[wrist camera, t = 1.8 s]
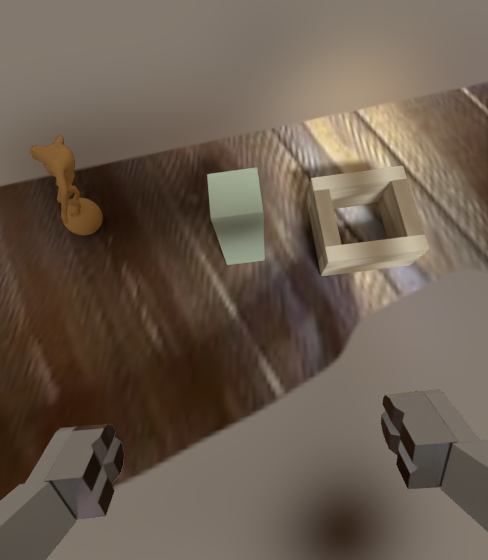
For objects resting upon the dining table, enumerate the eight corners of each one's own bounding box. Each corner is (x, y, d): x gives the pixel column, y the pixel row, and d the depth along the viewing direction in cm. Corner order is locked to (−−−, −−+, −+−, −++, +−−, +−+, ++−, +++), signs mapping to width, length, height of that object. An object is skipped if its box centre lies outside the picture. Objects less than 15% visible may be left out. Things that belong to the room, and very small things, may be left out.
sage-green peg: (227, 264, 33) (210, 218, 24) (223, 231, 34) (207, 174, 25) (264, 260, 33) (263, 211, 23) (260, 226, 34) (257, 167, 25)
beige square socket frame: (321, 275, 32) (328, 262, 28) (306, 200, 35) (311, 177, 31) (409, 265, 32) (429, 249, 28) (387, 189, 34) (402, 165, 31)
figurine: (73, 199, 37) (-14, 118, 26) (122, 186, 37) (57, 101, 26) (77, 262, 34) (-17, 204, 23) (130, 248, 34) (63, 184, 23)
